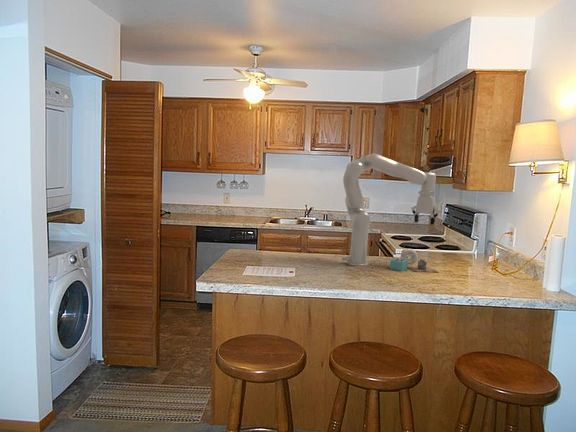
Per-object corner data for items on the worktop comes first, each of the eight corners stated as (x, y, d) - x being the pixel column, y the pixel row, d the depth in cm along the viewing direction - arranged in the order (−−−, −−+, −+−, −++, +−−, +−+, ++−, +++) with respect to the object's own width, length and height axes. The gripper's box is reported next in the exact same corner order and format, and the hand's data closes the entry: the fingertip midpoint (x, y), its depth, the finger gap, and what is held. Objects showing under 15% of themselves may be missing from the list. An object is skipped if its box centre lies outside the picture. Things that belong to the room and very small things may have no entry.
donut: (415, 264, 265) (417, 248, 264) (417, 266, 262) (419, 249, 261) (399, 263, 265) (400, 247, 264) (400, 265, 262) (402, 248, 261)
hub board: (414, 273, 240) (415, 261, 239) (405, 268, 252) (406, 256, 251) (438, 274, 242) (439, 262, 242) (427, 269, 254) (429, 257, 253)
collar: (402, 271, 239) (402, 262, 239) (389, 268, 244) (390, 260, 243) (406, 269, 245) (407, 260, 245) (394, 267, 249) (395, 258, 249)
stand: (393, 272, 239) (394, 262, 238) (386, 268, 249) (387, 258, 248) (410, 273, 241) (411, 262, 240) (402, 269, 250) (403, 258, 250)
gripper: (410, 192, 255) (407, 221, 257) (438, 195, 244) (435, 225, 246) (416, 192, 261) (413, 221, 263) (444, 195, 249) (441, 225, 251)
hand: (424, 223), depth 254 cm, fingers open, 9 cm apart
